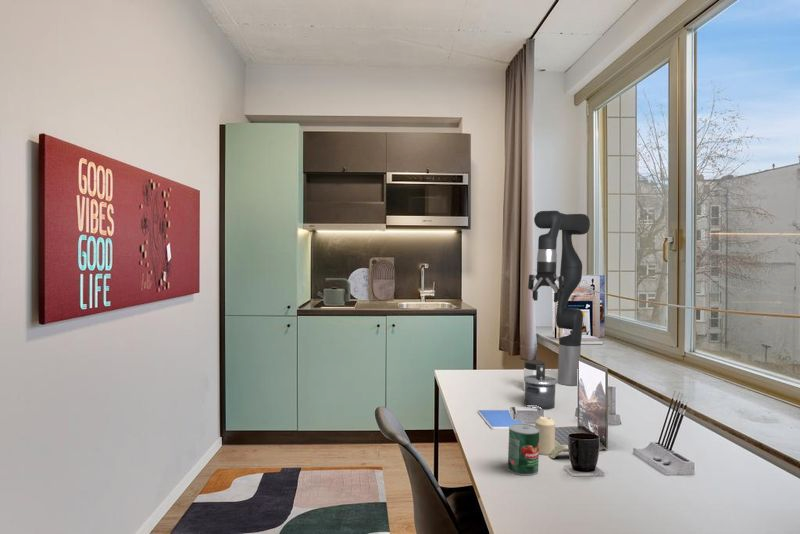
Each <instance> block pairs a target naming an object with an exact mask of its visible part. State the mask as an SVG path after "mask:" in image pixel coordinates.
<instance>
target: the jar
mask: <svg viewBox="0 0 800 534" xmlns="http://www.w3.org/2000/svg"><path fill="white" fill-rule="evenodd" d="M545 364H546V363H545V362H544V361H542V360H541V361H540V360H531V359H528V360H524V368H523V378H524V377H525V376H530V375H536V365H544V366H545ZM545 367H546V366H545ZM523 391H524V392H525V381H524V380H523Z"/></svg>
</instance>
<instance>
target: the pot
mask: <svg viewBox="0 0 800 534" xmlns="http://www.w3.org/2000/svg"><path fill="white" fill-rule="evenodd" d="M555 404H556V384H555V385H550V386H542V385H533V384H529V383H526V382H525V391H524V406H525V405H537V406H539V407H541V408H542V409H543V410H545V411H546V410H547V411H549V410H552V409H555V408H556V406H555ZM543 410H542V411H543Z"/></svg>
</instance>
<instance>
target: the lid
mask: <svg viewBox="0 0 800 534" xmlns="http://www.w3.org/2000/svg"><path fill="white" fill-rule="evenodd" d="M524 381H525V382H526V383H529V384H533V385H542V386H550V385H555V386H556V385H557V384H558V378H554V377H552V376H547V375H546V366H544V365H536V375H530V376H525V377H524V376H523V382H524Z"/></svg>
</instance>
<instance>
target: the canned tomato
mask: <svg viewBox="0 0 800 534" xmlns="http://www.w3.org/2000/svg"><path fill="white" fill-rule="evenodd" d="M539 432H540V429H539V428H538V427H536V426H535V425H533V424H529V423H524V424H521V423H519V424H512V425H510V426H509V429H508V456H507V457H508V458H507V470H508V471H509V472H511V473H512V474H514V475H519V476H525V477H526V476H535V475H536V474H538V473H539V461H540V460H539V456H540V454H539Z"/></svg>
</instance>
